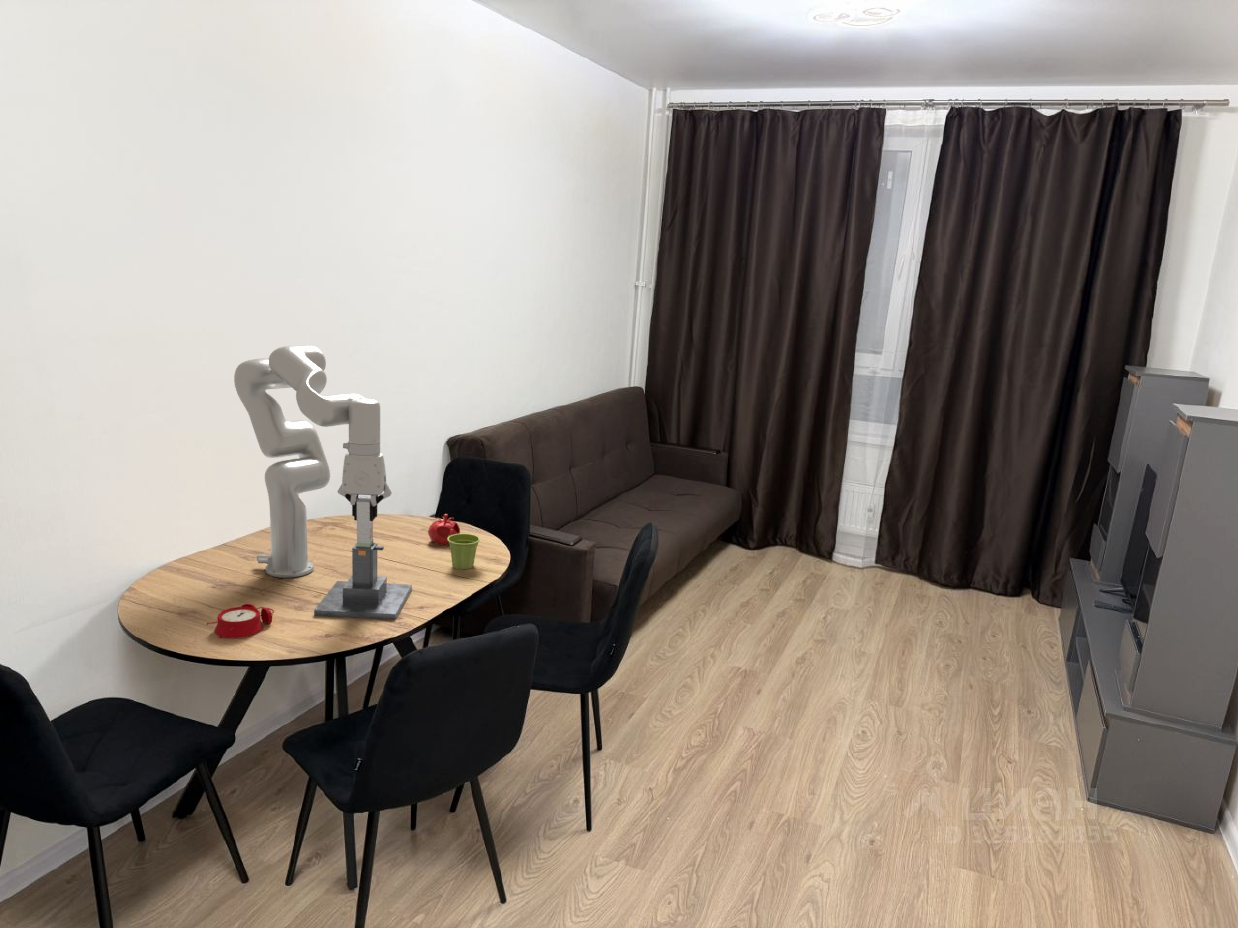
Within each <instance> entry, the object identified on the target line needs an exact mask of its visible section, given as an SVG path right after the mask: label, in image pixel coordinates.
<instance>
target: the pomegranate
mask: <svg viewBox="0 0 1238 928" xmlns="http://www.w3.org/2000/svg"><path fill="white" fill-rule="evenodd" d="M441 517H442V518H443V519H440V518H439V517H436V518H435V521H433V522H432V523H431V525H429V528H428V530H427V533H428V536H429V539H430V541H431V542H432V543H434V544H436V545H438V546H439V545H440V546H450V545H449V541H448V537H449V536H451V535H454V534H461V529H460V526H459V524H458V522H457V521H453V520H454V517H449V518H448V514H447V513H445V514H443V516H441ZM437 519H438V520H437Z"/></svg>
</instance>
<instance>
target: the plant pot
mask: <svg viewBox="0 0 1238 928" xmlns="http://www.w3.org/2000/svg"><path fill="white" fill-rule="evenodd" d="M448 541H449V545H448V546H449V547H450V556H451V565H452V567H453V568H454V569H455V570H460V569H462V570H464V569H465V570H470V569H472V568H474V564H475V560H476V559H475V558H476V553H477V547H478V545H479V543H480V541H481V538H480V537H479V536H478V535H476V534H472V533H460V534H454V535H451V536H449V537H448ZM469 568H470V569H469Z"/></svg>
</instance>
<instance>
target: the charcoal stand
mask: <svg viewBox="0 0 1238 928" xmlns="http://www.w3.org/2000/svg"><path fill="white" fill-rule="evenodd" d="M384 547H385V546H383V545H378V542H373V546H372V548H357V547H356V543H355V544H354V545H353V546H352V548H351V552H352V553H351V554H352V556H351V558H352V561H351V562H352V572H351V573H352V575H351V576H350V578H348V580H347V581H346V580H345V581H343V580H337V581H336V582H335V583H334V584H333V585H332V587H331V588H330V589H329V591H328V592H327V593H326V595H324V597H323V599H322V600H320V602H319V604H318V605H317V606H316V607H315V609H313V617H327V618H328V617H332V618H334V617H335V618H350V619H351V618H352V619H355V618H356V619H370V620H371V619H373V620H374V619H375V620H393V619H397V617H399V614H400V612H401V610H402V609H403V606H404V605H405V603H406V601H407V600H408V598H409V596H410V594H411V592H412V590H413V585H412V584H409V583H388V582H387V581H388V579H387V578H388V577H387V576H378V551H383V550H385V549H384Z"/></svg>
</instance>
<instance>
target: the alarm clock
mask: <svg viewBox="0 0 1238 928" xmlns="http://www.w3.org/2000/svg"><path fill="white" fill-rule="evenodd" d="M259 609H261V610H259ZM271 611H272V612H271ZM274 613H275V610H274V609H272V608H269V607H264V606H263V607H262V606H261V607H260V606H259V607H256V606H255V605H254V604H252V603H244V604H242V605H241V606H236V607H231V608H227V609H224V610H222V611H220V612H219V613H218V615H217V617H216V619H217V620H216V621H213V622H207V623H206V625H207V626H209V625H212V624H217V625H216V626H215V628H214V633H215V635H216V636H218V638H219V639H223V638H226V639H241V638H246V637H247V638H248V637H250V636H254V635H256V634H259V633H260V632H261V631H262V630H263V629H264V623H267V626H270V625H271V624H272V623H273V616H274Z"/></svg>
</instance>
